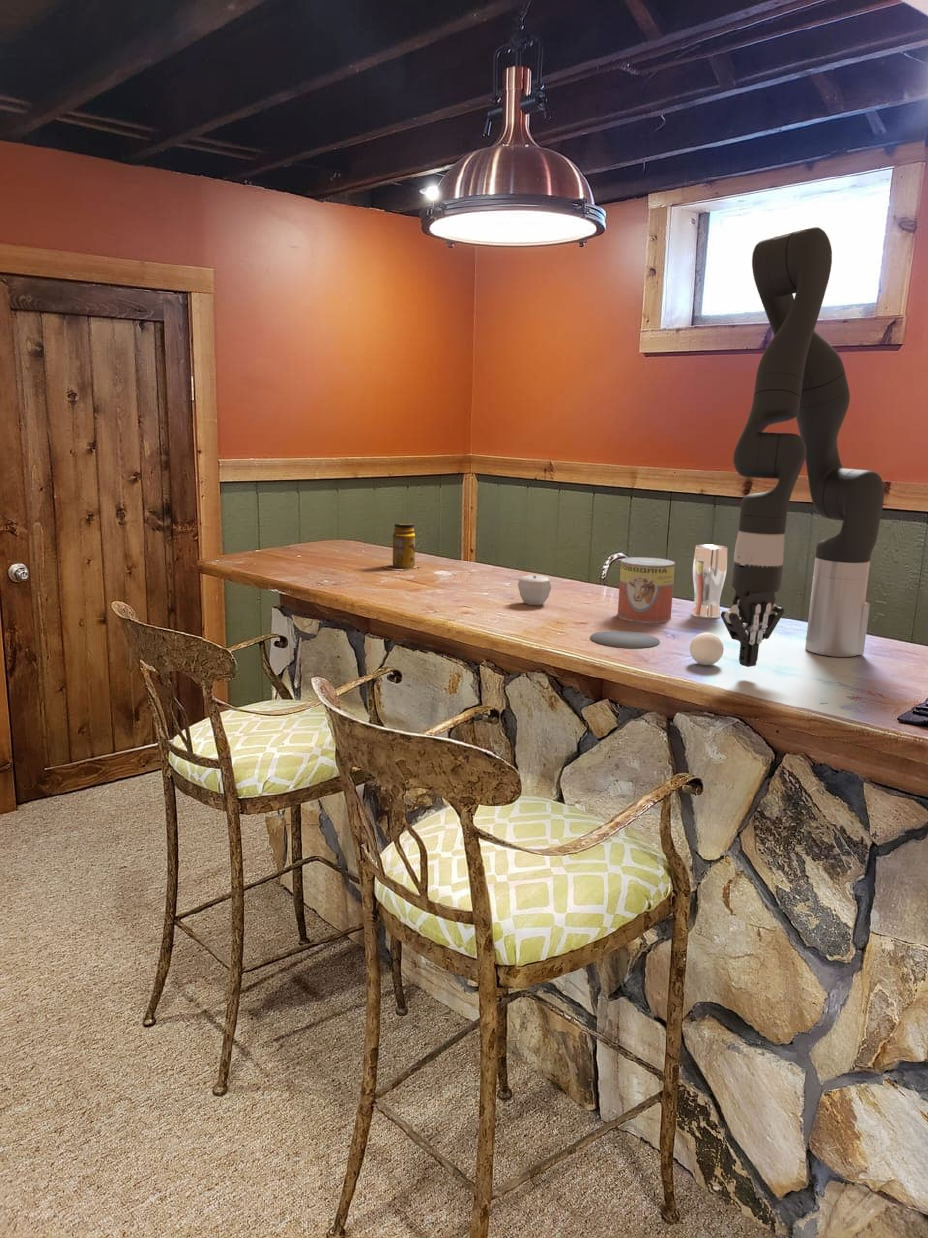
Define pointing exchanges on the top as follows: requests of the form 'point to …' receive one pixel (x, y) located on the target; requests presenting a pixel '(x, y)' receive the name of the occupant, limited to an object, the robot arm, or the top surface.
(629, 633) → the disc
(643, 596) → the canned food
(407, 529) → the condiment
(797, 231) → the robot arm
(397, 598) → the top surface
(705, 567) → the beer glass
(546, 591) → the apple
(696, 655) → the ball
